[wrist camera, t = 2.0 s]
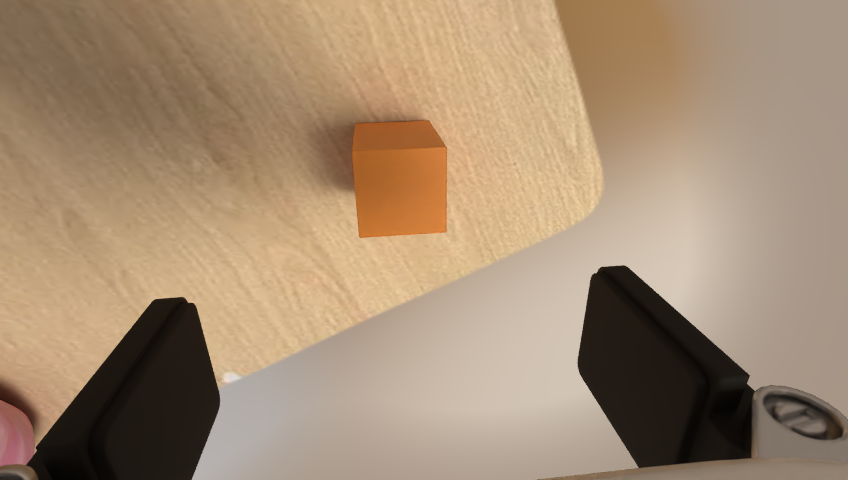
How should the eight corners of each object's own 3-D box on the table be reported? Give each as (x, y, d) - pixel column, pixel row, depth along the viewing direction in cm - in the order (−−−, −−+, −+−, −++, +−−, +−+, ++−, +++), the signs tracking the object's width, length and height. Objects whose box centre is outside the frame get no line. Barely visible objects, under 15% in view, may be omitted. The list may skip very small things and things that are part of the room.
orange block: (429, 120, 24) (446, 146, 19) (430, 190, 26) (446, 232, 21) (355, 123, 24) (351, 150, 19) (361, 194, 26) (359, 238, 20)
